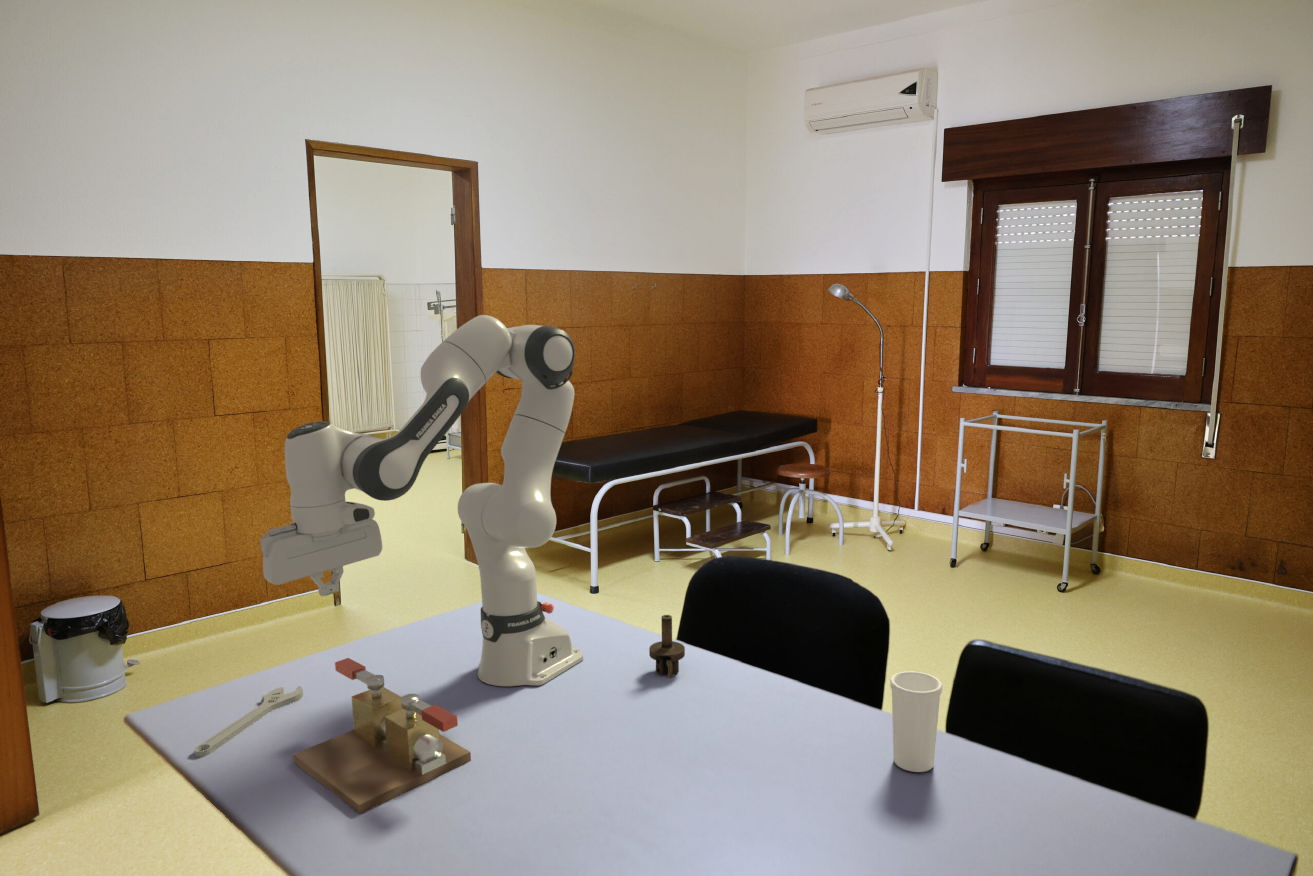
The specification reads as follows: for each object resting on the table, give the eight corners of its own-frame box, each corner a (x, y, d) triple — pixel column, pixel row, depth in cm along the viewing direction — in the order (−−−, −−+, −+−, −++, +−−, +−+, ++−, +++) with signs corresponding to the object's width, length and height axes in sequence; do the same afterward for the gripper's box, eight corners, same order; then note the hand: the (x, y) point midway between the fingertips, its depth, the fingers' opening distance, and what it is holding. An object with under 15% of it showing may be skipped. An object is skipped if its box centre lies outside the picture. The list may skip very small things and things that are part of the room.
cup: (939, 755, 142) (943, 674, 140) (939, 781, 134) (942, 696, 132) (889, 747, 145) (891, 668, 142) (885, 773, 137) (888, 689, 135)
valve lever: (387, 686, 148) (386, 677, 148) (372, 691, 146) (372, 683, 145) (349, 665, 156) (348, 657, 156) (335, 671, 154) (334, 662, 154)
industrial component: (679, 682, 171) (678, 625, 169) (644, 678, 173) (643, 621, 171) (691, 663, 180) (690, 608, 178) (658, 659, 182) (657, 605, 180)
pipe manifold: (379, 719, 155) (375, 664, 153) (468, 774, 136) (465, 712, 134) (350, 731, 150) (345, 675, 149) (438, 789, 132) (434, 726, 130)
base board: (400, 718, 158) (400, 711, 158) (470, 760, 143) (470, 752, 143) (294, 762, 143) (293, 754, 143) (360, 814, 129) (359, 805, 128)
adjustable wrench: (204, 761, 145) (202, 751, 145) (175, 755, 148) (174, 746, 147) (309, 695, 169) (308, 687, 168) (283, 691, 171) (282, 683, 170)
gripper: (267, 535, 137) (278, 616, 140) (382, 506, 152) (390, 580, 154) (250, 528, 141) (261, 608, 144) (364, 501, 156) (372, 573, 159)
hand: (329, 593), depth 149 cm, fingers closed
